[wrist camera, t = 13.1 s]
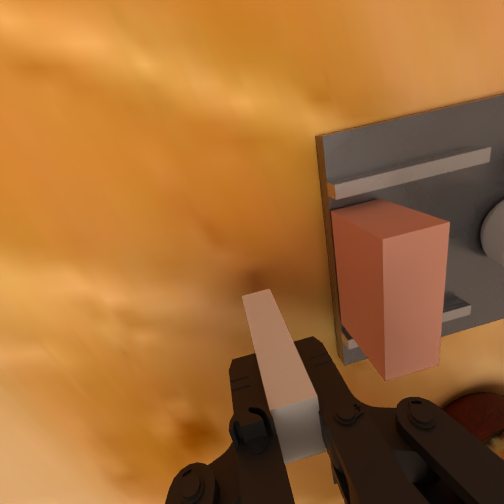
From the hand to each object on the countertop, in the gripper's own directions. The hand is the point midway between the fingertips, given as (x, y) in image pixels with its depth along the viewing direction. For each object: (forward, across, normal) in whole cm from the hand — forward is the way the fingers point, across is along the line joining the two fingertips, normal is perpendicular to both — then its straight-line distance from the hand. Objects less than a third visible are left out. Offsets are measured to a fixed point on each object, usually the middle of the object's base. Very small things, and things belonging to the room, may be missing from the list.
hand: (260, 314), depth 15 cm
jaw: (+3, +7, 0) cm, 7 cm away
